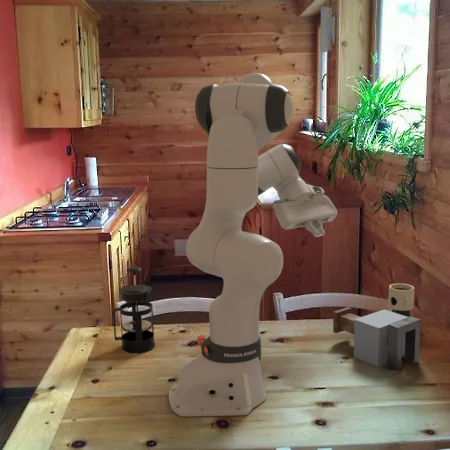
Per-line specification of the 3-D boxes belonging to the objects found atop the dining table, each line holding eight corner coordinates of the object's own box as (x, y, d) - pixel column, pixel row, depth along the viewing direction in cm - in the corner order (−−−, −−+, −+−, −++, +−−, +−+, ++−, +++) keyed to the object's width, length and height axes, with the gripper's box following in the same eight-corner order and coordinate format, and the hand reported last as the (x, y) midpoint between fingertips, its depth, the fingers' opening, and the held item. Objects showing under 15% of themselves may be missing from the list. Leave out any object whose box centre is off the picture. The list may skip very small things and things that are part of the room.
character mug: (382, 322, 177) (383, 281, 174) (405, 321, 177) (406, 281, 175) (394, 336, 166) (395, 293, 164) (418, 335, 167) (420, 292, 164)
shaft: (333, 332, 163) (333, 311, 161) (347, 327, 166) (348, 307, 165) (384, 352, 149) (385, 330, 147) (399, 346, 152) (400, 324, 151)
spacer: (386, 367, 147) (388, 324, 144) (408, 357, 152) (410, 316, 150) (396, 371, 144) (398, 327, 142) (418, 361, 150) (420, 319, 147)
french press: (155, 338, 169) (151, 261, 164) (159, 351, 160) (155, 270, 155) (114, 343, 166) (109, 265, 162) (116, 356, 157) (111, 274, 153)
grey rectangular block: (353, 356, 153) (354, 319, 151) (383, 345, 160) (384, 309, 158) (377, 367, 147) (379, 328, 145) (407, 354, 154) (409, 317, 152)
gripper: (274, 194, 163) (298, 234, 157) (326, 187, 174) (350, 224, 169) (264, 208, 167) (287, 247, 161) (315, 200, 179) (338, 236, 173)
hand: (320, 235), depth 165 cm, fingers closed
